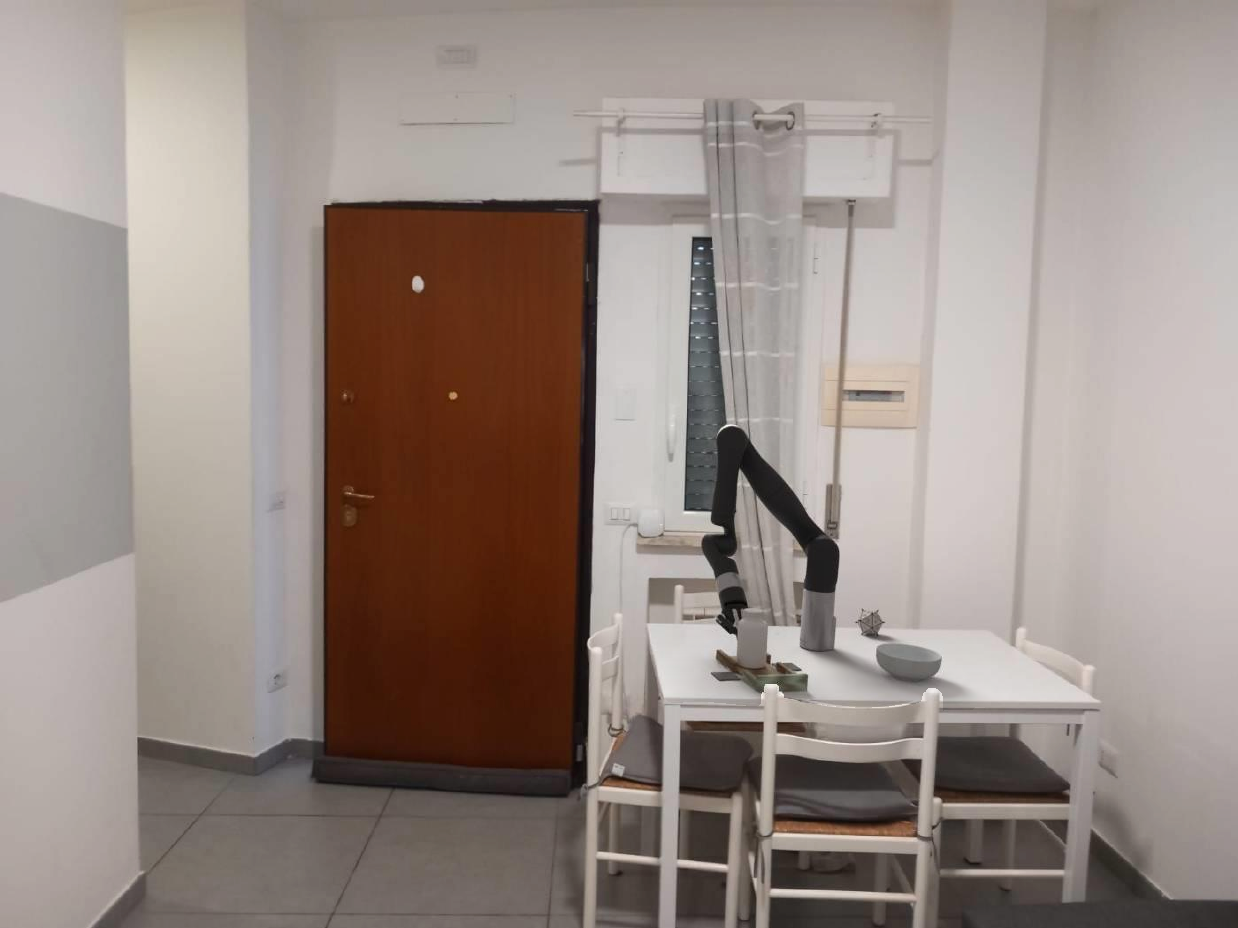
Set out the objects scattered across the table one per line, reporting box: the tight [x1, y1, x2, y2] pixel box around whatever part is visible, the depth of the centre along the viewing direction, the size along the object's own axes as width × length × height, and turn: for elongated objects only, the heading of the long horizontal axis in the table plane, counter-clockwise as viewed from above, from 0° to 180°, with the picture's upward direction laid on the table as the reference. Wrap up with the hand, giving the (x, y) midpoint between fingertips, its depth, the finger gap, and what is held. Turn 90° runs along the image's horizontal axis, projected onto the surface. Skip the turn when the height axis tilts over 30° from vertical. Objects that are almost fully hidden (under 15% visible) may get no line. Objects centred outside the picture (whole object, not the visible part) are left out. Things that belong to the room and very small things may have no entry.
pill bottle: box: [736, 607, 769, 669], centre depth 236 cm, size 8×8×15 cm
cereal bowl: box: [875, 642, 943, 683], centre depth 235 cm, size 17×17×7 cm
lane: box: [710, 649, 809, 694], centre depth 231 cm, size 26×28×4 cm
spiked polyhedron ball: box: [854, 608, 886, 637], centre depth 278 cm, size 9×8×10 cm
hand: (744, 646), depth 240 cm, fingers closed
